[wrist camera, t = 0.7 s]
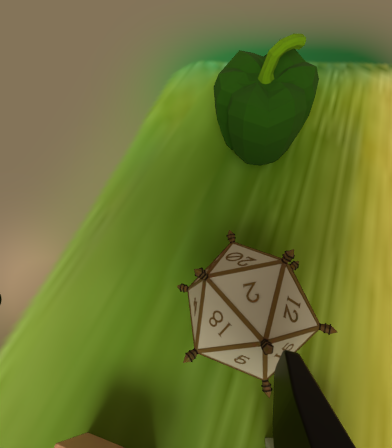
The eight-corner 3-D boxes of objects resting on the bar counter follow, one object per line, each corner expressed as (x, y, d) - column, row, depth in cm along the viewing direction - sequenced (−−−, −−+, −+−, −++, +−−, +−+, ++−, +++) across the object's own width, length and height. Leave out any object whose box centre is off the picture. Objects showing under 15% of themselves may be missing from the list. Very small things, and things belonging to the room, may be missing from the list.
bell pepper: (216, 179, 27) (210, 84, 19) (217, 119, 31) (212, 18, 23) (307, 176, 26) (345, 75, 18) (296, 115, 30) (322, 8, 22)
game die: (219, 329, 24) (127, 277, 19) (289, 257, 24) (215, 182, 18) (282, 440, 17) (160, 407, 11) (389, 339, 16) (312, 253, 11)
